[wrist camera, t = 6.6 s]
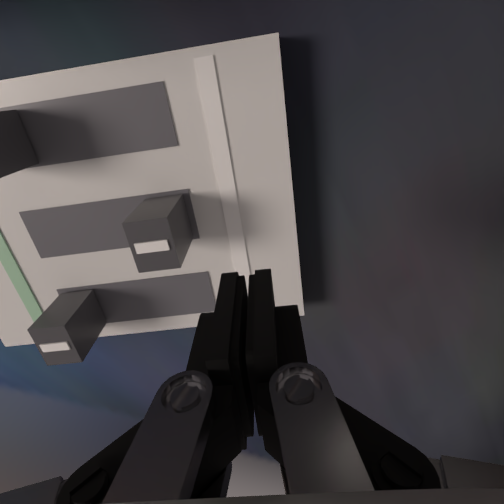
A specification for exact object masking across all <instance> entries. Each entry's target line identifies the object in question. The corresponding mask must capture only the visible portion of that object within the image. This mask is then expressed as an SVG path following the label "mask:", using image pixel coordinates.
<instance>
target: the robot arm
mask: <svg viewBox="0 0 504 504" xmlns="http://www.w3.org/2000/svg"><path fill="white" fill-rule="evenodd" d="M254 411H255V417H256V422H257V428H258V434H259V436H263V440H264V446H265V450H266V451H267V452H268V453H269V454H270V455H271V456H272V457H273V458H274V459H276V460H277V461H278V462H279V463H280V469H281V474H282V479H283V484H284V489H285V494H286V495H268V496H247V497H226V496H227V491H228V486H229V481H230V477H231V471H232V462H231V461H232V460H233V459H234V458H235V457H236V456H237V455H238V454H239V453H240V452H241V450H245V449H246V448H247V437H250V436H253V434H254ZM0 504H504V465H499V464H492V463H486V462H480V461H474V460H468V459H462V458H456V457H450V456H444V455H441V457H440V460H439V459H433V458H427V457H426V456H425V455H424V454H423V453H421V452H420V451H419V450H418V449H417V448H415V447H414V446H412V445H410V444H409V443H407V442H406V441H404V440H403V439H401V438H399V437H398V436H396V435H395V434H393V433H392V432H390V431H388V430H387V429H385V428H384V427H382V426H381V425H379V424H377V423H376V422H374V421H373V420H371V419H370V418H368V417H366V416H365V415H363V414H362V413H360V412H359V411H357V410H356V409H354V408H352V407H351V406H349V405H348V404H346V403H345V402H343V401H341V400H340V399H338V398H337V397H335V396H334V393H333V391H332V389H331V386H330V384H329V382H328V379H327V378H326V376H325V375H324V373H323V372H322V371H321V370H320V369H318V368H317V367H315V366H313V365H311V364H308V362H307V356H306V350H305V344H304V339H303V333H302V327H301V321H300V315H299V310H298V305H287V306H275V301H274V292H273V283H272V274H271V269H260V270H255V274H252V275H249V285H248V294H247V287H246V281H245V276H244V275H242V276H239V274H238V272H229V273H222V274H221V278H220V284H219V289H218V294H217V299H216V305H215V310H214V312H208V313H201V314H200V316H199V320H198V324H197V328H196V332H195V336H194V340H193V344H192V348H191V352H190V356H189V360H188V364H187V368H186V371H183V372H180V373H177V374H175V375H173V376H172V377H170V378H168V379H167V380H166V381H165V382H164V383H163V384H162V385H161V387H160V388H159V389H158V391H157V393H156V395H155V397H154V399H153V401H152V403H151V405H150V407H149V409H148V411H147V413H146V415H145V417H144V419H143V420H141V421H140V422H139V423H137V424H136V425H135V426H134V427H132V428H131V429H130V430H128V431H127V432H126V433H124V434H123V435H122V436H120V437H119V438H118V439H116V440H115V441H114V442H112V443H111V444H110V445H108V446H107V447H106V448H105V449H103V450H102V451H101V452H99V453H98V454H97V455H95V456H94V457H93V458H91V459H90V460H89V461H87V462H86V463H85V464H84V465H82V466H81V467H80V468H79V469H77V470H76V471H75V472H74V473H73V474H72V475H71V476H70V477H69V478H68V479H66V480H63V478H62V477H61V476H59V477H56V478H53V479H49V480H46V481H42V482H39V483H36V484H32V485H28V486H25V487H22V488H18V489H15V490H11V491H8V492H4V493H1V494H0Z"/></svg>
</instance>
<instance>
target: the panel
mask: <svg viewBox="0 0 504 504" xmlns="http://www.w3.org/2000/svg"><path fill="white" fill-rule="evenodd" d="M15 109H16V110H17V113H18V115H19V117H20V120H21V122H22V124H23V127H24V129H25V131H26V134H27V136H28V138H29V141H30V143H31V145H32V148H33V150H34V152H35V155H36V157H37V160H38V162H39V164H36V165H34V166H31V167H28V168H26V169H23V170H20V171H18V172H15V173H12V174H10V175H7V176H5V177H2V178H0V339H1V340H2V342H3V344H4V345H5V347H7V346H17V345H26V344H35V343H34V341H33V339H32V338H31V336H30V334H29V332H28V330H27V329H28V328H29V327H30V326H31V325H32V324H33V323H34V322H35V321H36V320H37V319H38V318H39V316H40V315H41V314H42V313H43V312H44V311H45V310H46V309H47V308H48V307H49V306H50V305H51V304H52V302H53V301H54V300H55V299H56V298H57V297H58V296H59V295H60V294H61V293H67V292H75V291H84V290H92V289H93V291H94V293H95V296H96V298H97V300H98V303H99V305H100V307H101V310H102V312H103V314H104V317H105V319H106V321H107V323H106V325H105V326H104V328H103V330H102V331H101V333H100V334H99V336H98V337H103V336H112V335H122V334H131V333H141V332H150V331H160V330H169V329H179V328H188V327H197V324H198V320H199V316H200V314H201V313H208V312H214V310H215V305H216V299H217V294H218V289H219V284H220V278H221V274H222V273H229V272H238V274H239V276H242V275H244V276H245V281H246V287H247V294H248V285H249V275H252V274H255V270H260V269H271V274H272V283H273V292H274V301H275V306H287V305H298V310H299V315H300V316H302V315H304V306H303V295H302V284H301V274H300V263H299V252H298V241H297V230H296V219H295V208H294V197H293V186H292V175H291V164H290V153H289V142H288V131H287V120H286V109H285V98H284V88H283V77H282V66H281V55H280V44H279V33H273V34H267V35H261V36H255V37H250V38H244V39H238V40H232V41H226V42H221V43H215V44H209V45H203V46H197V47H192V48H186V49H180V50H174V51H168V52H163V53H157V54H151V55H145V56H139V57H133V58H128V59H122V60H116V61H110V62H104V63H99V64H93V65H87V66H81V67H75V68H70V69H64V70H58V71H52V72H46V73H41V74H35V75H29V76H23V77H17V78H12V79H6V80H0V111H6V110H15ZM177 194H183V198H184V202H185V206H186V210H187V214H188V218H189V222H190V226H191V230H192V235H193V240H192V242H191V244H190V247H189V249H188V252H187V254H186V257H185V259H184V261H183V264H182V266H181V268H176V269H168V270H160V271H151V272H143V273H139V272H138V269H137V266H136V263H135V261H134V258H133V255H132V252H131V249H130V246H129V243H128V240H127V237H126V234H125V231H124V229H123V226H122V222H123V221H124V220H125V219H126V218H127V217H128V216H129V215H130V214H131V213H132V212H133V211H134V210H135V209H136V208H137V207H138V206H139V205H140V204H141V203H142V202H143V200H144V199H148V198H156V197H163V196H170V195H177Z"/></svg>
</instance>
